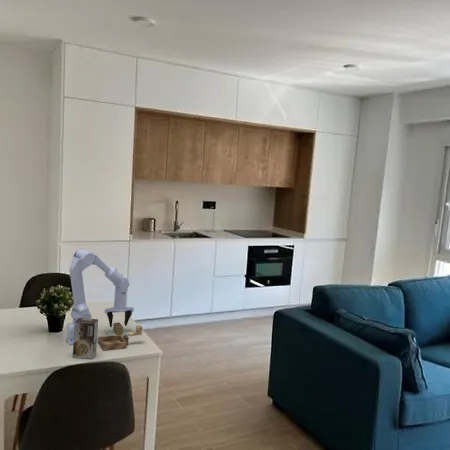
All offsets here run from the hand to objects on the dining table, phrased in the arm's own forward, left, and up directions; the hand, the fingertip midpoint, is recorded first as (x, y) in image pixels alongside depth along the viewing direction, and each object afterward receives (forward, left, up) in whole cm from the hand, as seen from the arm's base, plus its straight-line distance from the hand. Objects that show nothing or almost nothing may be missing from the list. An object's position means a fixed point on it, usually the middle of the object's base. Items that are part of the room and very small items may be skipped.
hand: (118, 325), depth 229 cm
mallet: (+4, -15, 0) cm, 16 cm away
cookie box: (-21, -23, -4) cm, 32 cm away
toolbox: (-7, -15, -4) cm, 17 cm away
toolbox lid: (0, 0, -4) cm, 5 cm away
